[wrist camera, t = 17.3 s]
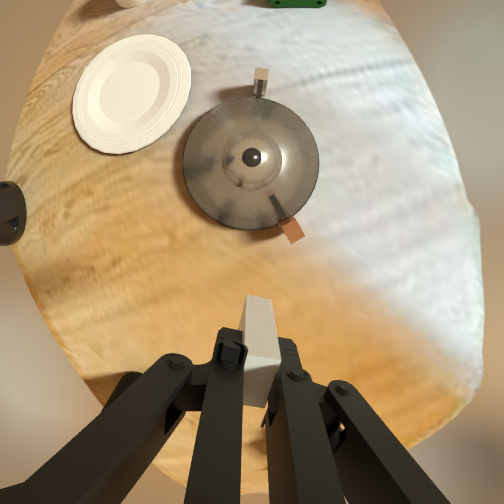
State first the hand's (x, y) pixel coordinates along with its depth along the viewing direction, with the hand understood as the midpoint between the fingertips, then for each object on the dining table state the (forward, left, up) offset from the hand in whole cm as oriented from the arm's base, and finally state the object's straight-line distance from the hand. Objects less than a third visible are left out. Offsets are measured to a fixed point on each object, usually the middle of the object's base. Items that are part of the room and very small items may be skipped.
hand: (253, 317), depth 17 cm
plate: (-34, -11, -35) cm, 50 cm away
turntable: (-10, +5, -33) cm, 34 cm away
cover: (-11, +5, -31) cm, 34 cm away
